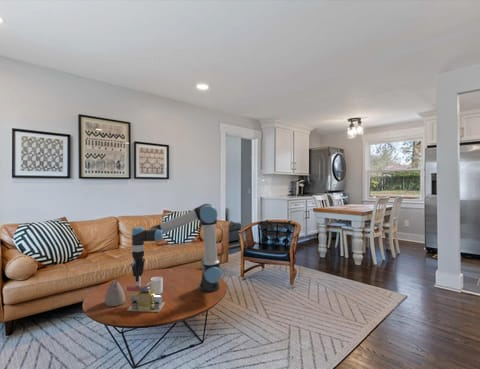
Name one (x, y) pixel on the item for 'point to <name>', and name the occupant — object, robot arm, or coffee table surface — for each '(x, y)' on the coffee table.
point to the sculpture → (114, 295)
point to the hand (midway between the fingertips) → (138, 285)
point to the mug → (156, 284)
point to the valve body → (146, 302)
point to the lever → (138, 288)
